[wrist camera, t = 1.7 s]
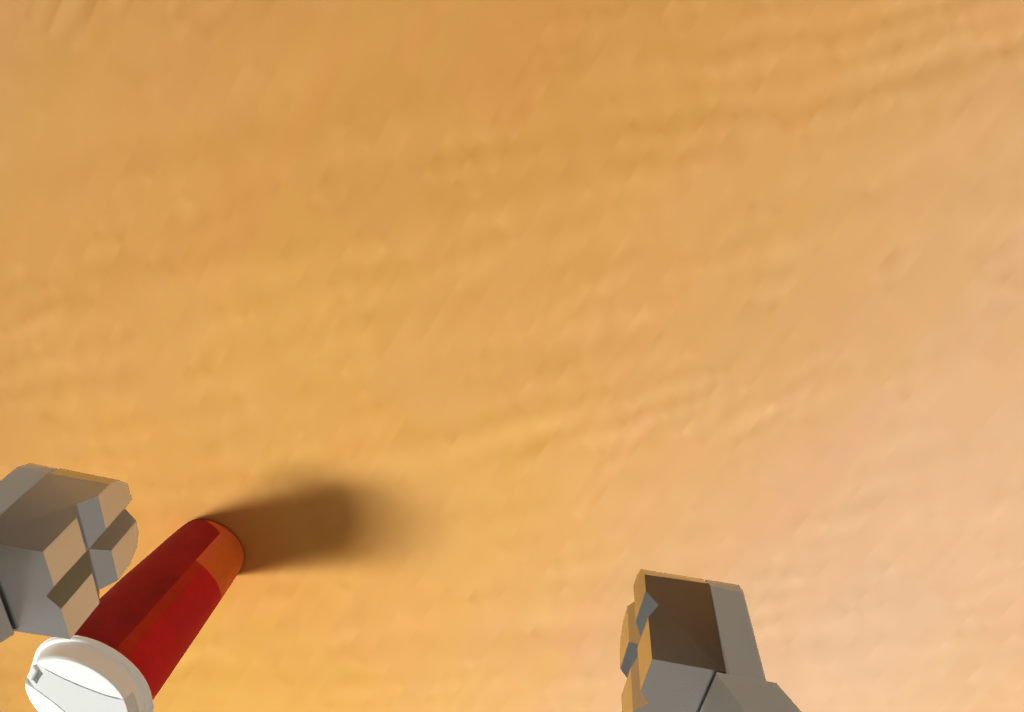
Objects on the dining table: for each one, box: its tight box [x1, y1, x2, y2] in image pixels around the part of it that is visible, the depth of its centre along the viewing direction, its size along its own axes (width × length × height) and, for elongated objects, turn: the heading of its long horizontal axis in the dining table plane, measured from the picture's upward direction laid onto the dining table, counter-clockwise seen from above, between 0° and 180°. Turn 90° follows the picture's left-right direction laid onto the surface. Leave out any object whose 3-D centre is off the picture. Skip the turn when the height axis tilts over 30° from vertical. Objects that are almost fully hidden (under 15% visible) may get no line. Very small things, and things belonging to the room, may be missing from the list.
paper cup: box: [25, 519, 244, 712], centre depth 46 cm, size 8×8×14 cm
